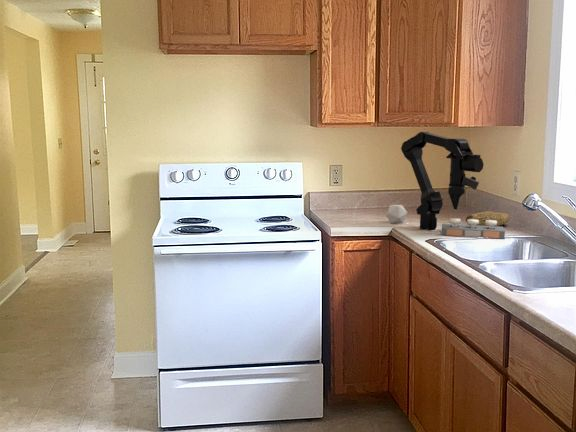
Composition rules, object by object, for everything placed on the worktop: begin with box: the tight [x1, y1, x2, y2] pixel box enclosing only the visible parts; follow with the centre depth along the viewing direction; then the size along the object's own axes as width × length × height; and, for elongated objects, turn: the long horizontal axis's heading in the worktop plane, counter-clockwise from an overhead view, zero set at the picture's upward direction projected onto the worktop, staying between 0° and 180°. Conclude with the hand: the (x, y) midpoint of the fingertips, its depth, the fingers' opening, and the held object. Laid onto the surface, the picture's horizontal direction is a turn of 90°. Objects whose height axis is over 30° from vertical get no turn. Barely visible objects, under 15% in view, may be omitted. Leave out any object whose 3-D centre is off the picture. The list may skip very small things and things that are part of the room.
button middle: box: [466, 219, 479, 228], centre depth 265 cm, size 4×4×4 cm
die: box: [385, 204, 408, 225], centre depth 292 cm, size 8×9×10 cm
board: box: [440, 223, 506, 240], centre depth 265 cm, size 24×11×3 cm, turn 76°
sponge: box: [465, 210, 510, 227], centre depth 286 cm, size 13×8×20 cm
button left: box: [448, 217, 462, 227], centre depth 266 cm, size 4×4×4 cm
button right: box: [485, 220, 497, 229], centre depth 263 cm, size 4×4×4 cm
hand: (455, 209), depth 266 cm, fingers closed
